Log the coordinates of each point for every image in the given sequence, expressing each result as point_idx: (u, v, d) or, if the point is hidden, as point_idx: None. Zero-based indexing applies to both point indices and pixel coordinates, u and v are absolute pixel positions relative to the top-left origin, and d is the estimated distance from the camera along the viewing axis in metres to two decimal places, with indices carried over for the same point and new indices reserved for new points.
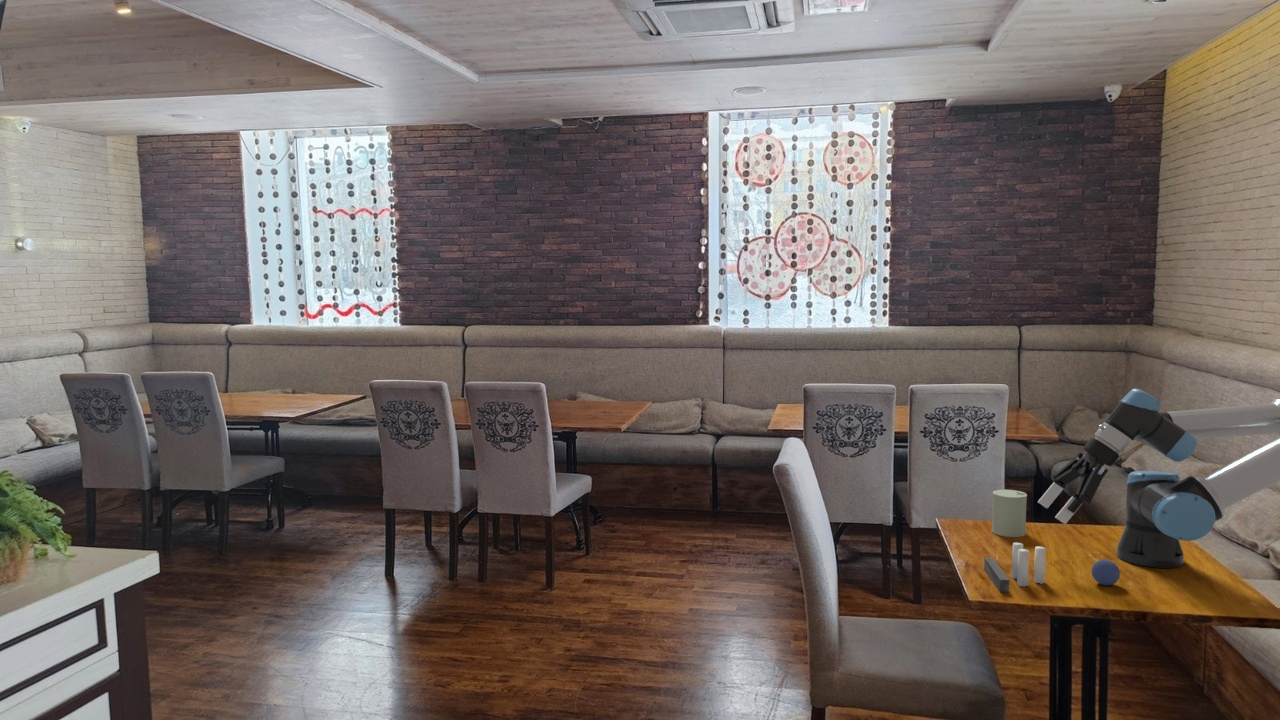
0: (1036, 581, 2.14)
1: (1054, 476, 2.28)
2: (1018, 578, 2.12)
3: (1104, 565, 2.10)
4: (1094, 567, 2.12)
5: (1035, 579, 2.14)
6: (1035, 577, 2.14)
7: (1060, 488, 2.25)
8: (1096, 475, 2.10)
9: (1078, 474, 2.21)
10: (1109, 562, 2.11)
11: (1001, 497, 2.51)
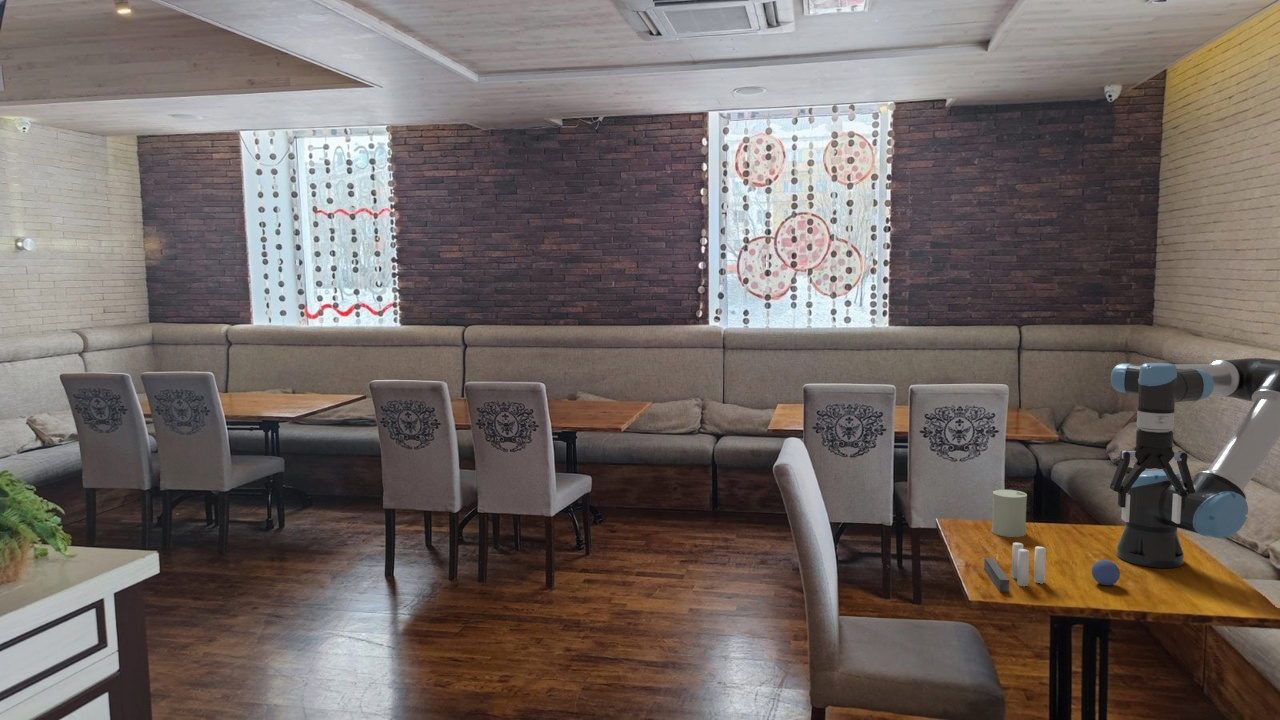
0: (1036, 581, 2.14)
1: (1118, 489, 2.09)
2: (1018, 578, 2.12)
3: (1104, 565, 2.10)
4: (1094, 567, 2.12)
5: (1035, 579, 2.14)
6: (1035, 577, 2.14)
7: None
8: None
9: None
10: (1109, 562, 2.11)
11: (1001, 497, 2.51)
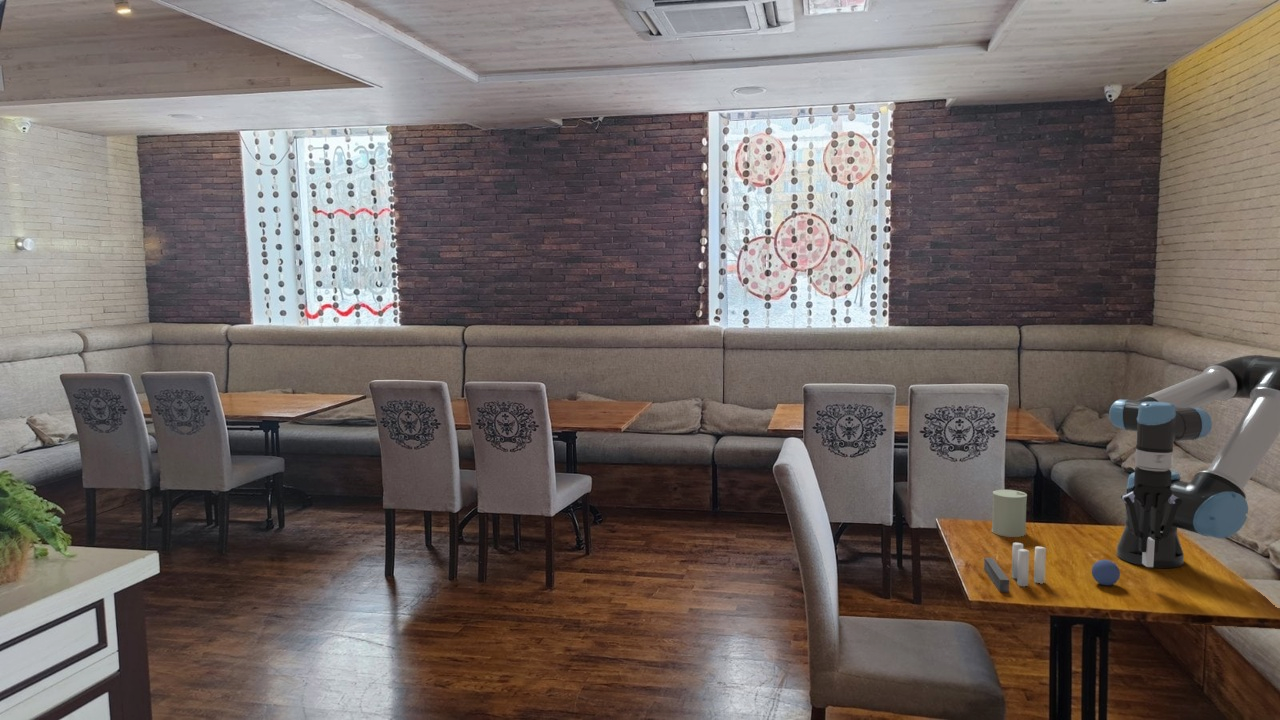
0: (1036, 581, 2.14)
1: (1139, 533, 2.09)
2: (1018, 578, 2.12)
3: (1104, 565, 2.10)
4: (1094, 567, 2.12)
5: (1035, 579, 2.14)
6: (1035, 577, 2.14)
7: None
8: None
9: None
10: (1109, 562, 2.11)
11: (1001, 497, 2.51)
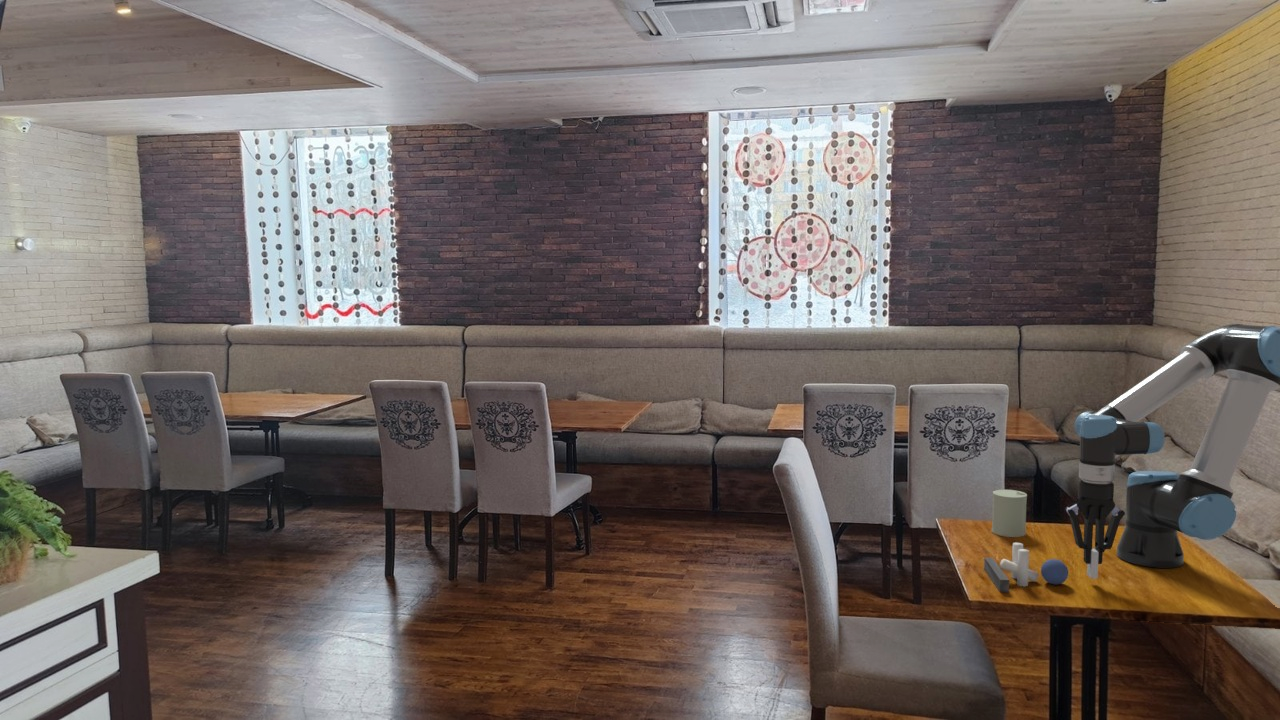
0: (1033, 580, 2.14)
1: (1083, 545, 2.11)
2: (1018, 578, 2.12)
3: (1065, 580, 2.12)
4: None
5: (1031, 580, 2.14)
6: (1029, 579, 2.14)
7: None
8: None
9: None
10: None
11: (1001, 497, 2.51)
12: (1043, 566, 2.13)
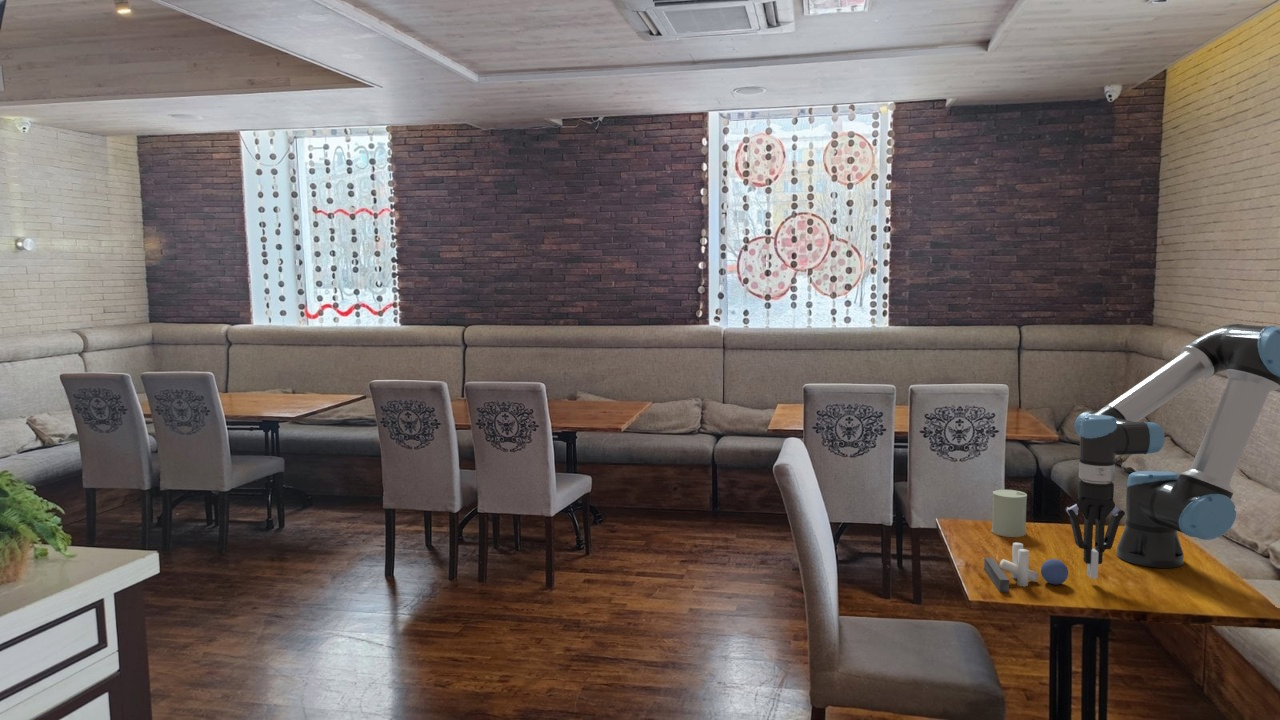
0: (1033, 580, 2.14)
1: (1083, 545, 2.11)
2: (1018, 578, 2.12)
3: (1065, 580, 2.12)
4: None
5: (1031, 580, 2.14)
6: (1029, 579, 2.14)
7: None
8: None
9: None
10: None
11: (1001, 497, 2.51)
12: (1043, 566, 2.13)
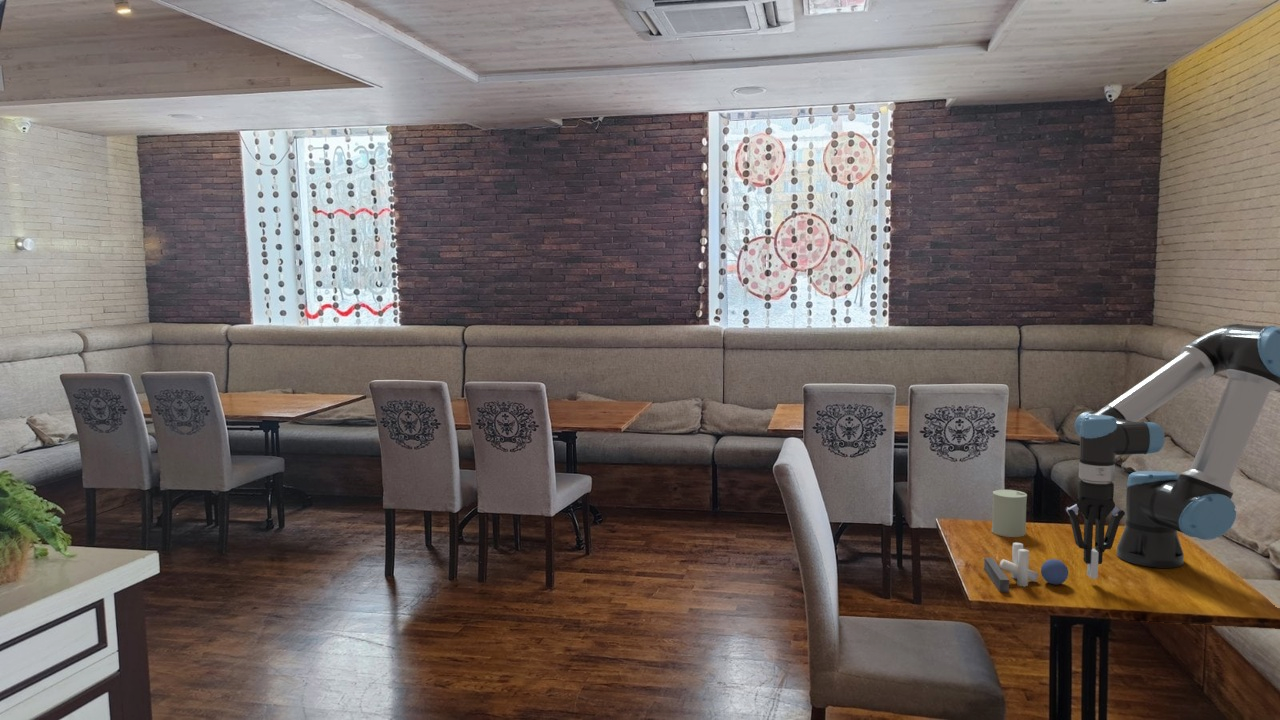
0: (1033, 580, 2.14)
1: (1083, 545, 2.11)
2: (1018, 578, 2.12)
3: (1065, 580, 2.12)
4: None
5: (1031, 580, 2.14)
6: (1029, 579, 2.14)
7: None
8: None
9: None
10: None
11: (1001, 497, 2.51)
12: (1043, 566, 2.13)
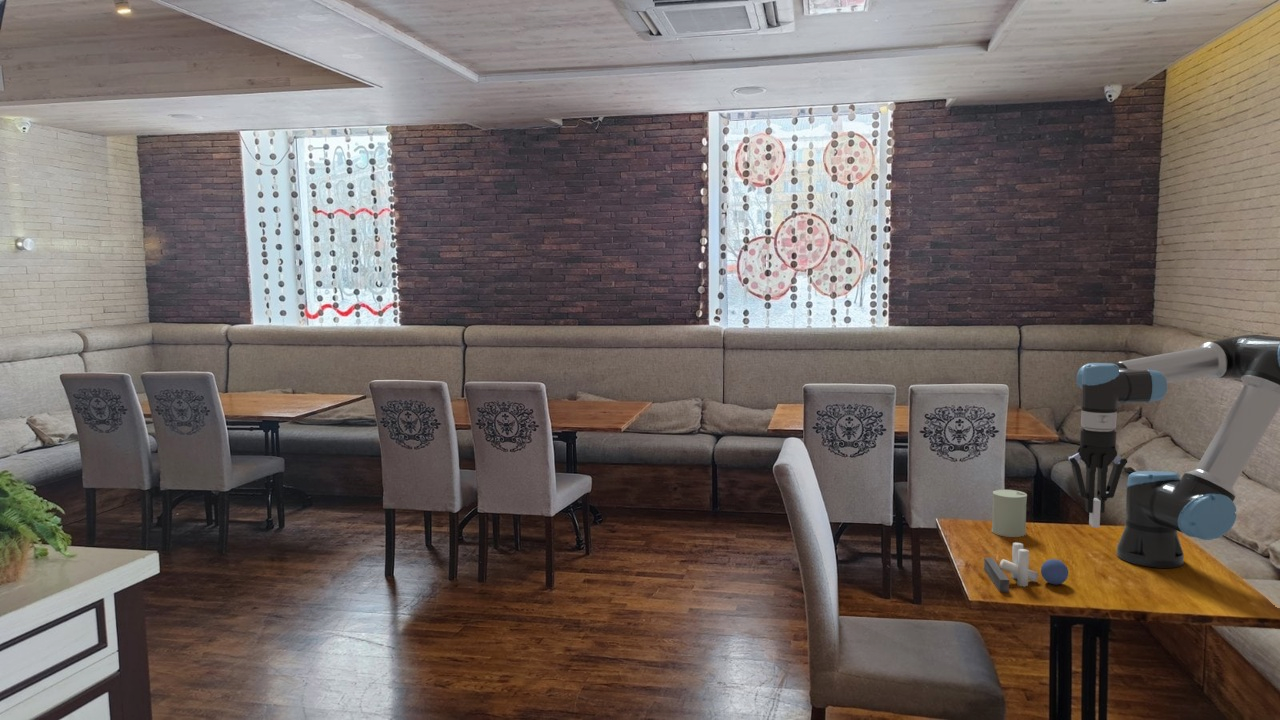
0: (1033, 580, 2.14)
1: (1085, 494, 2.10)
2: (1018, 578, 2.12)
3: (1065, 580, 2.12)
4: None
5: (1031, 580, 2.14)
6: (1029, 579, 2.14)
7: None
8: None
9: None
10: None
11: (1001, 497, 2.51)
12: (1043, 566, 2.13)
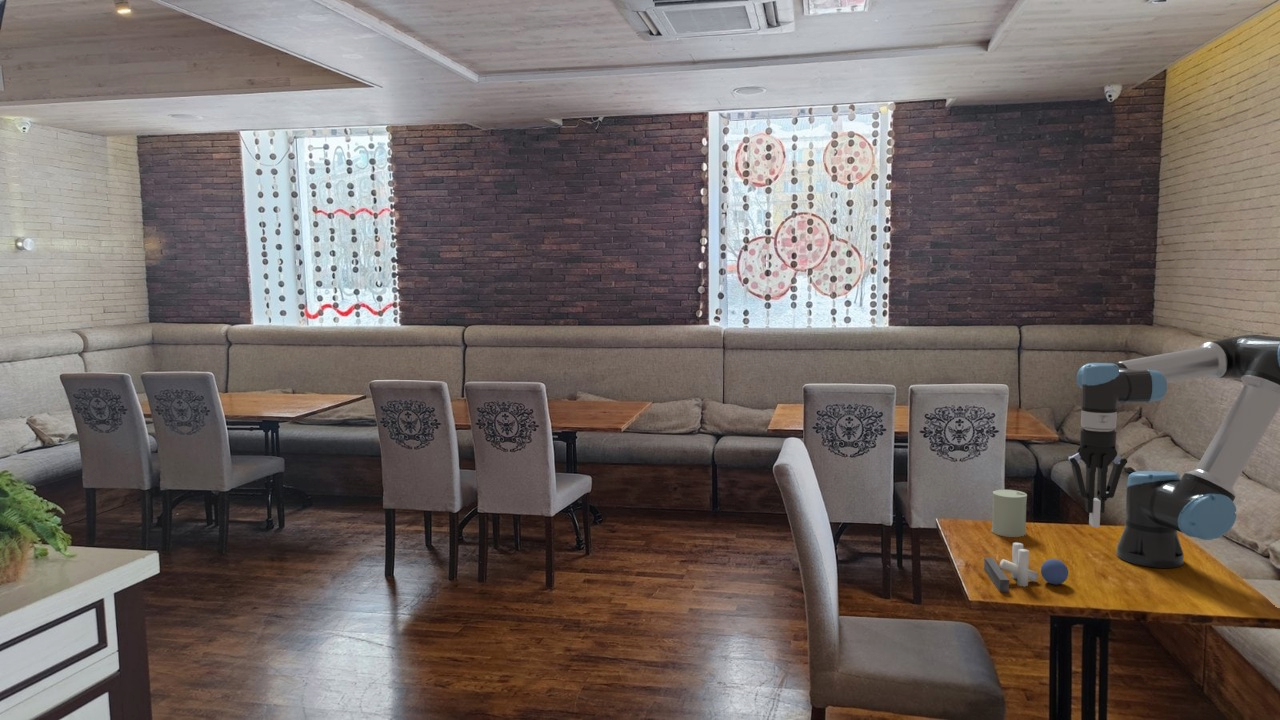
0: (1033, 580, 2.14)
1: (1085, 494, 2.10)
2: (1018, 578, 2.12)
3: (1065, 580, 2.12)
4: None
5: (1031, 580, 2.14)
6: (1029, 579, 2.14)
7: None
8: None
9: None
10: None
11: (1001, 497, 2.51)
12: (1043, 566, 2.13)
